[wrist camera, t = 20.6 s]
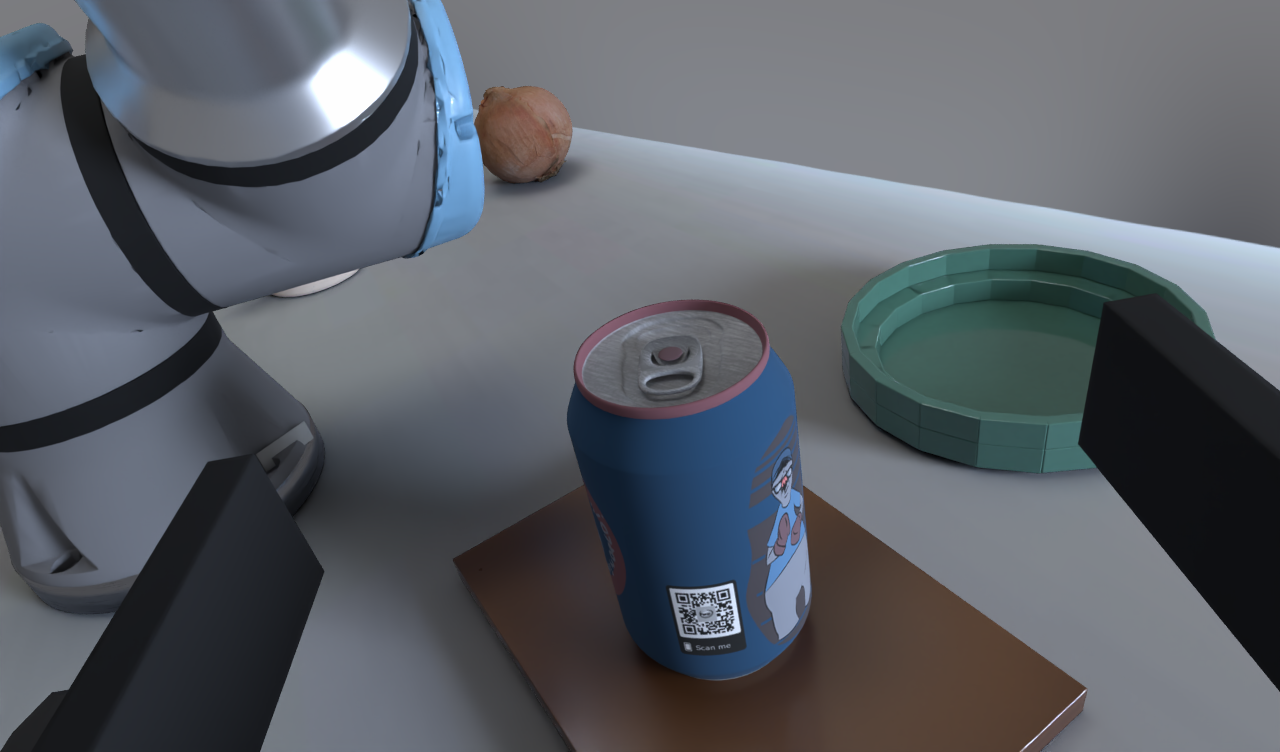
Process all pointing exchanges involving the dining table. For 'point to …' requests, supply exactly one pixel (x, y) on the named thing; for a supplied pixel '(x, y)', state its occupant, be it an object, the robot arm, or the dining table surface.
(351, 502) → the dining table surface
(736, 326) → the soda can
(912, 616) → the board
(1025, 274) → the bowl
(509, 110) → the onion
